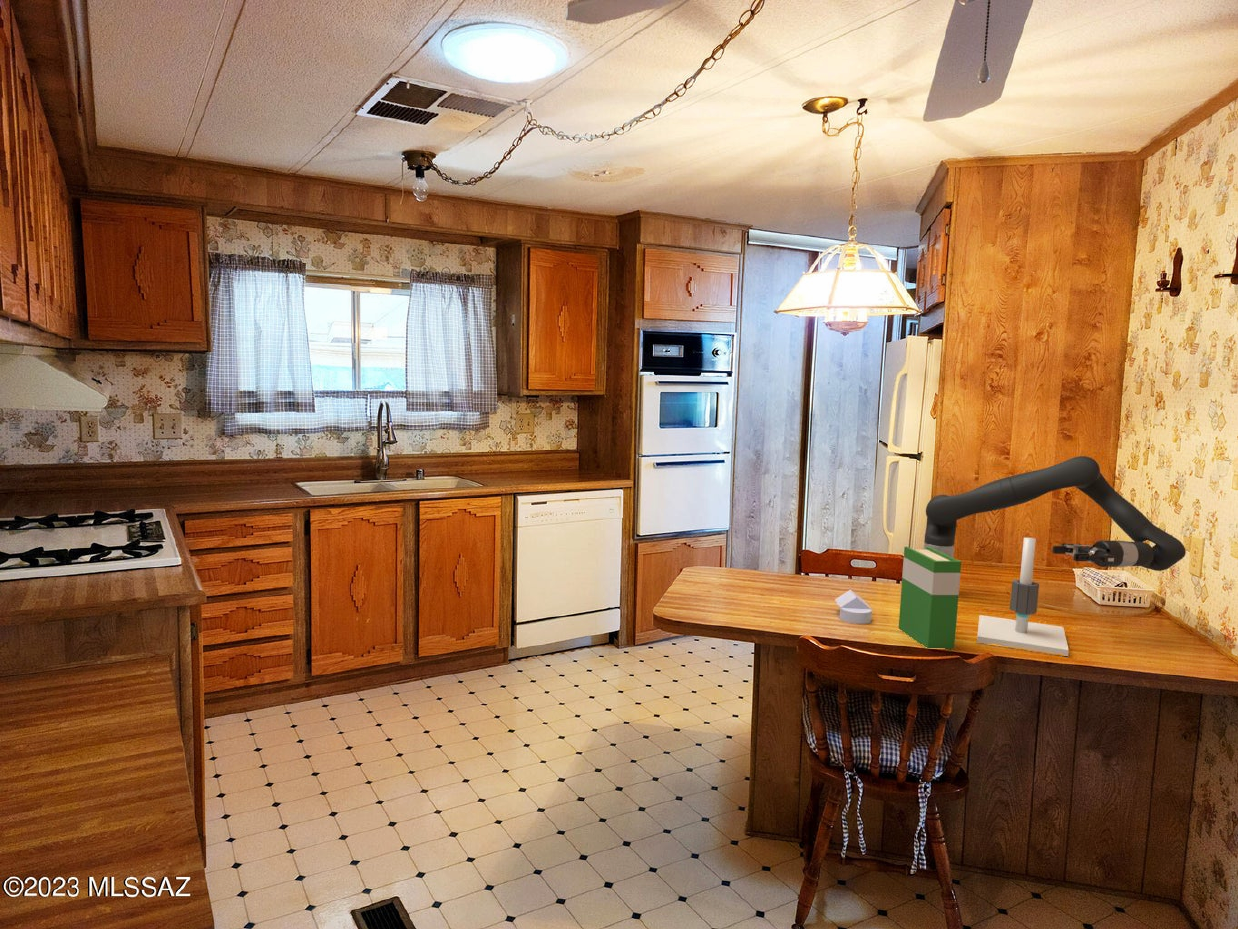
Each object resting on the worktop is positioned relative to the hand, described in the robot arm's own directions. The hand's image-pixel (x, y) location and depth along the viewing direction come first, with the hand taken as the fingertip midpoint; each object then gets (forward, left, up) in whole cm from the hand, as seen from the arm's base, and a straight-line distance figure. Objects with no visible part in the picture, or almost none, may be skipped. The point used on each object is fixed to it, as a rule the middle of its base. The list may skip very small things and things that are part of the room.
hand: (1063, 553), depth 229 cm
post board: (-9, -8, -24) cm, 27 cm away
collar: (-9, -8, -16) cm, 20 cm away
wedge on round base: (-54, -12, -24) cm, 60 cm away
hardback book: (-33, -22, -24) cm, 46 cm away
